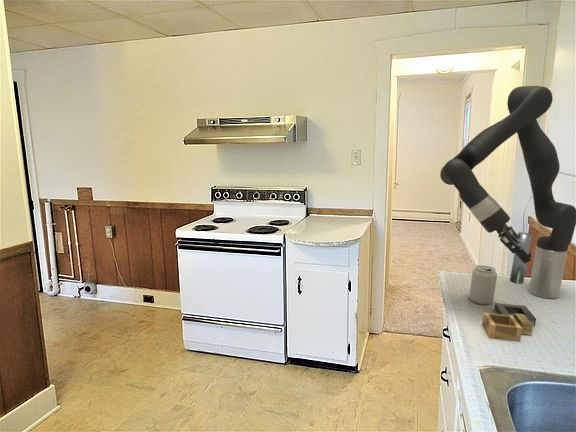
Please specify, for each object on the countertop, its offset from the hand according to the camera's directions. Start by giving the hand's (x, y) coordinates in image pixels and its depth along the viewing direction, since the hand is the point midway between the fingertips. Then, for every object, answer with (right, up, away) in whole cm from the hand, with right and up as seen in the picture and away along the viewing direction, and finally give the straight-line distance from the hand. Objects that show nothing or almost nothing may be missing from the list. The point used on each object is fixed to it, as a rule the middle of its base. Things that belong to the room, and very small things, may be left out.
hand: (528, 259), depth 121 cm
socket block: (-1, -19, +7) cm, 20 cm away
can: (-5, -16, +19) cm, 25 cm away
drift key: (-2, -20, 0) cm, 21 cm away
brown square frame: (-9, -21, -2) cm, 23 cm away
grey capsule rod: (-2, -7, +3) cm, 8 cm away
